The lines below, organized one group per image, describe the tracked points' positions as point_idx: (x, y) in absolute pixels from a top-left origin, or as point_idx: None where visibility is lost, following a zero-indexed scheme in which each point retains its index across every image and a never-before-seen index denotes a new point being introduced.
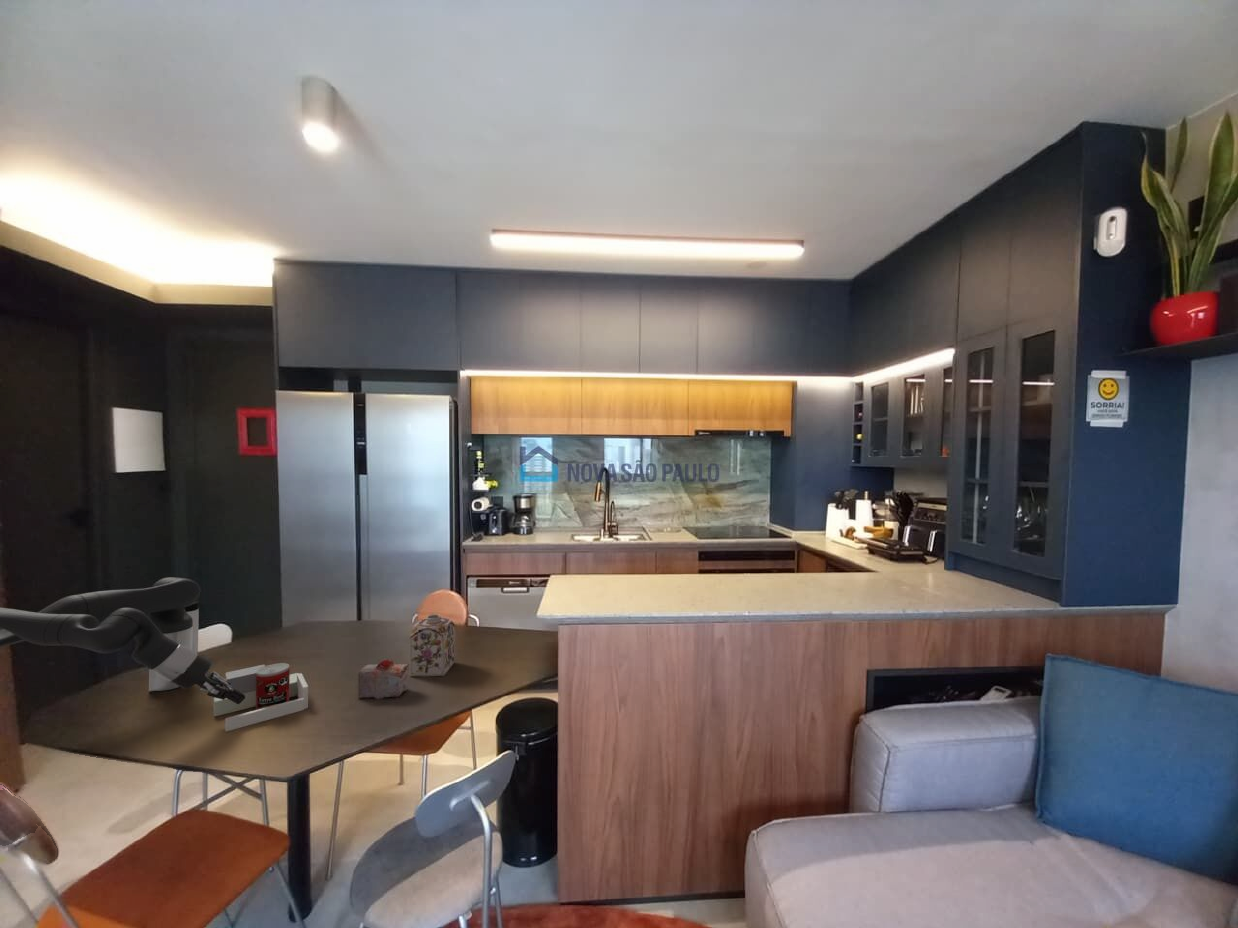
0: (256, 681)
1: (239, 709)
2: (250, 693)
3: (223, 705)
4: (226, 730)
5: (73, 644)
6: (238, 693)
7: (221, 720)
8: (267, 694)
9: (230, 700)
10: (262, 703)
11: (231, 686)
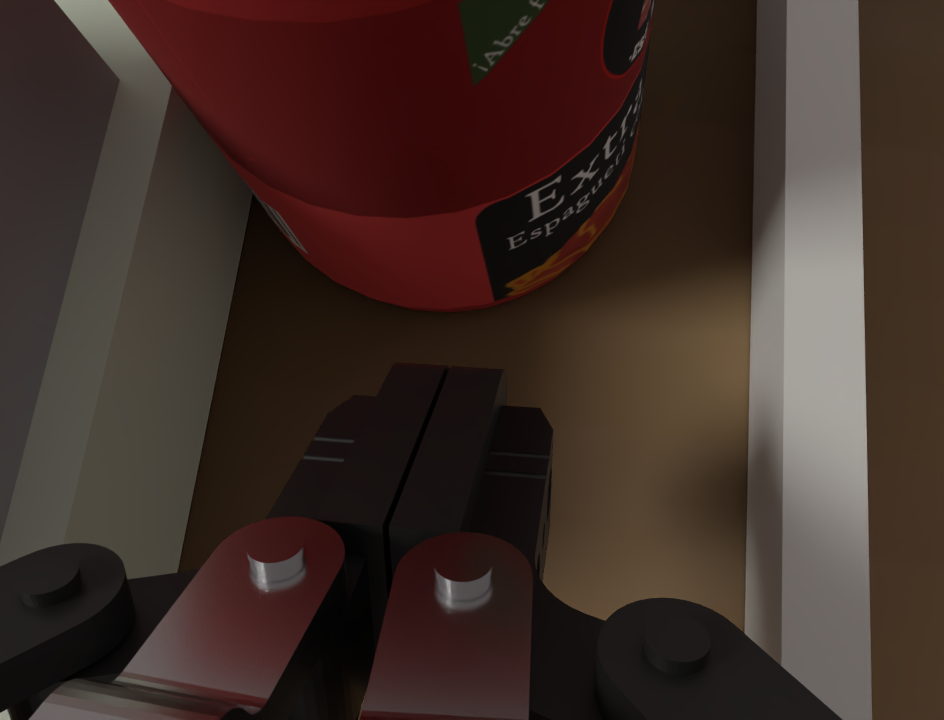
0: (352, 61)
1: (196, 467)
2: (129, 281)
3: None
4: None
5: None
6: (480, 459)
7: None
8: (626, 70)
9: None
10: (582, 206)
11: (287, 566)
